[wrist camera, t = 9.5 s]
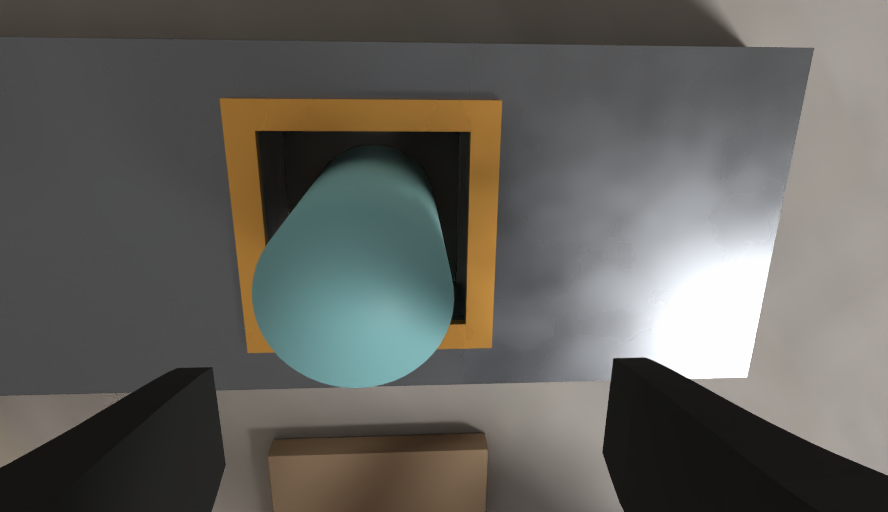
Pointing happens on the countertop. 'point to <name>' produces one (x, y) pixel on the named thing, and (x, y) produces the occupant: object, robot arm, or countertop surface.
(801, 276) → the countertop surface
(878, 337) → the countertop surface
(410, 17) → the countertop surface
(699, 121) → the grey peg hole board
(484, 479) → the brown square coaster
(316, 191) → the peg
